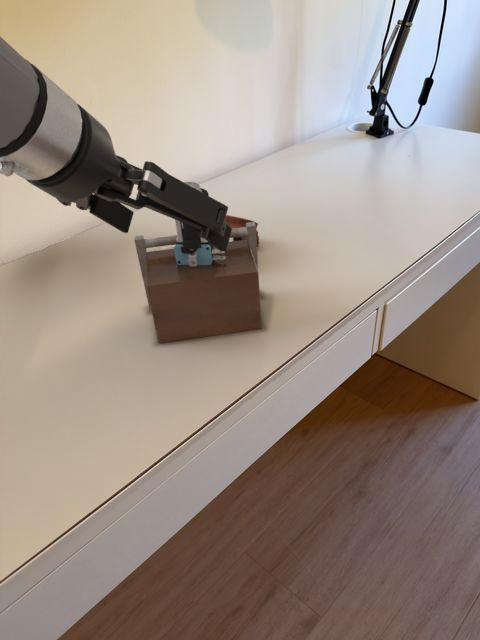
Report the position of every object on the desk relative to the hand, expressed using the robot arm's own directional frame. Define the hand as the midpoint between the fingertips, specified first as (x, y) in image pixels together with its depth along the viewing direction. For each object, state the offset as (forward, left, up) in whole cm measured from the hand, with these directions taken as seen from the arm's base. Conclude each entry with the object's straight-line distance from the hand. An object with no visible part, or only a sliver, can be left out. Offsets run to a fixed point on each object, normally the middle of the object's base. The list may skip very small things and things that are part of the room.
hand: (175, 230), depth 62 cm
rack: (-3, +2, -15) cm, 16 cm away
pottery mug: (-19, +8, -15) cm, 26 cm away
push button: (-3, +2, -6) cm, 8 cm away
